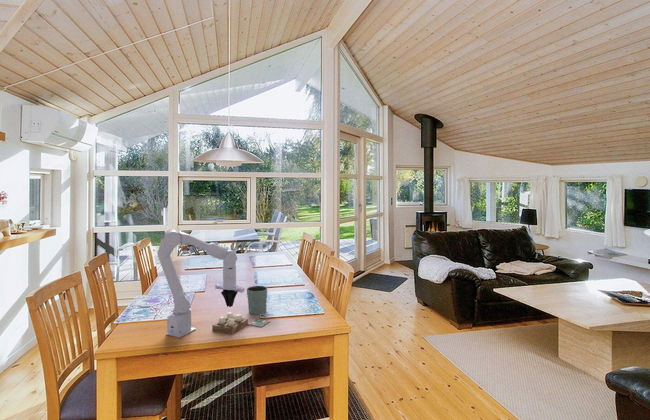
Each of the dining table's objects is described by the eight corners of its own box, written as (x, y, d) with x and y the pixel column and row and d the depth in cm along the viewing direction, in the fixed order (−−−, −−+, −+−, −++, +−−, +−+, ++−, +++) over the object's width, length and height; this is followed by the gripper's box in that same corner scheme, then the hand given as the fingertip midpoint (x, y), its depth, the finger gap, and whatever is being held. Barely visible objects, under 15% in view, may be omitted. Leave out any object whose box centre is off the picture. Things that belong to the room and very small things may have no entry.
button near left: (222, 325, 155) (222, 319, 155) (217, 324, 156) (217, 318, 156) (226, 323, 158) (226, 317, 158) (221, 322, 159) (221, 316, 159)
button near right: (231, 327, 154) (231, 320, 153) (226, 326, 155) (226, 319, 154) (235, 325, 156) (235, 318, 156) (230, 324, 157) (230, 317, 157)
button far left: (230, 321, 161) (230, 314, 160) (225, 320, 162) (225, 314, 161) (234, 319, 163) (234, 312, 163) (229, 318, 164) (229, 311, 164)
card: (261, 327, 159) (261, 326, 159) (248, 324, 162) (248, 323, 162) (269, 321, 166) (269, 320, 166) (256, 319, 168) (256, 318, 168)
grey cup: (263, 316, 172) (262, 292, 171) (243, 314, 174) (243, 290, 173) (270, 309, 182) (270, 286, 181) (251, 307, 184) (251, 284, 183)
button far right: (239, 323, 159) (239, 316, 158) (234, 322, 160) (234, 315, 160) (243, 320, 161) (243, 314, 161) (238, 319, 162) (238, 313, 162)
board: (231, 334, 152) (231, 328, 151) (212, 330, 155) (212, 325, 155) (247, 324, 163) (247, 319, 162) (229, 320, 166) (229, 315, 166)
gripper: (248, 276, 162) (248, 305, 163) (222, 272, 167) (222, 301, 168) (238, 279, 155) (239, 310, 156) (211, 276, 161) (212, 305, 162)
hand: (229, 306), depth 162 cm, fingers closed
